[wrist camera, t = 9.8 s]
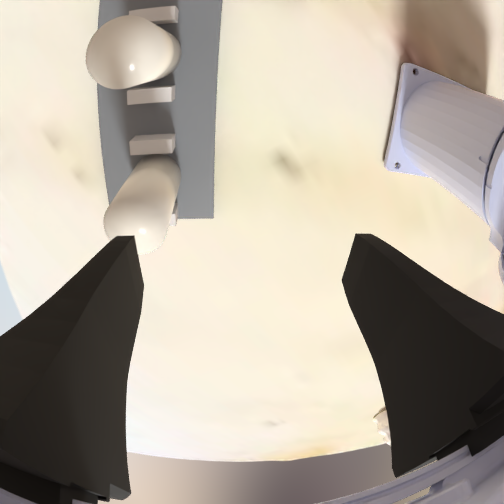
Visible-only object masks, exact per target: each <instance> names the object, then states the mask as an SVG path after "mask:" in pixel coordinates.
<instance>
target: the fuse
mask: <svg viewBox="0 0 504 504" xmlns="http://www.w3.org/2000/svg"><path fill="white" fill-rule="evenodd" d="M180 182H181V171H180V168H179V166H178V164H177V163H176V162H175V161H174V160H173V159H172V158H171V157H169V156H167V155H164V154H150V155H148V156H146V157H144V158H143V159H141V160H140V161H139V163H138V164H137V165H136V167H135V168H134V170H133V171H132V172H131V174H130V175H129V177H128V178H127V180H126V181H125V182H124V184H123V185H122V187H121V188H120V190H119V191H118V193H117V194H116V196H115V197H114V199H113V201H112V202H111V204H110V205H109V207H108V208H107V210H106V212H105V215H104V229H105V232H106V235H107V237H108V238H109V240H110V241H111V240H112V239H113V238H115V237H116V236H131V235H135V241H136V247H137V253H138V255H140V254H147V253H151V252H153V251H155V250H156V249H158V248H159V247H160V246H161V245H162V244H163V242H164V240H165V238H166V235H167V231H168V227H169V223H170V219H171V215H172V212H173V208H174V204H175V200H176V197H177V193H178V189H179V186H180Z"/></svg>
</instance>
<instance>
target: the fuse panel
mask: <svg viewBox="0 0 504 504" xmlns="http://www.w3.org/2000/svg"><path fill="white" fill-rule="evenodd" d="M221 11H222V0H100V5H99V18H98V29H99V28H100V27H101V26H102V25H104V24H105V23H107V22H108V21H110V20H112V19H114V18H117V17H120V16H126V15H134V16H140V17H143V18H145V19H147V20H149V21H150V22H152V23H154V24H156V25H157V26H159V27H161V28H162V29H164V30H166V31H167V32H169V33H170V34H172V35H173V36H175V37H176V38H177V40H178V41H179V43H180V45H181V49H182V55H181V60H180V62H179V64H178V66H177V67H176V69H175V70H174V71H173V72H172V73H171V74H169V75H168V76H166V77H164V78H161V79H158V80H154V81H150V82H146V83H143V84H139V85H136V86H132V87H129V88H125V89H110V88H106V87H103V86H102V85H100V84H98V83H97V93H98V113H99V127H100V138H101V148H102V157H103V166H104V173H105V180H106V187H107V194H108V200H109V205H110V204H111V202H112V201H113V199H114V197H115V196H116V194H117V193H118V191H119V190H120V188H121V187H122V185H123V184H124V182H125V181H126V180H127V178H128V177H129V175H130V174H131V172H132V171H133V170H134V168H135V167H136V165H137V164H138V163H139V161H140V160H141V159H143V158H144V157H146V156H148V155H150V154H164V155H167V156H169V157H171V158H172V159H173V160H174V161H175V162H176V163H177V164H178V166H179V168H180V171H181V182H180V186H179V189H178V193H177V197H176V200H175V204H174V208H173V212H172V215H171V219H170V223H169V226H176V224H177V219H195V218H214V153H215V118H216V93H217V72H218V54H219V38H220V24H221Z"/></svg>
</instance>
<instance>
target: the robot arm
mask: <svg viewBox="0 0 504 504" xmlns="http://www.w3.org/2000/svg"><path fill="white" fill-rule="evenodd" d="M413 69H415V72H416V73H415V74H413ZM397 162H398V165H397V166H396V167H395V164H396V163H397ZM384 167H385V168H386V169H387V170H388V171H392V172H399V173H406V174H412V175H418V176H424V177H430V178H432V179H433V180H435V181H436V182H437V183H439V184H440V185H441V186H443V187H444V188H445V189H446V190H448V191H449V192H450V193H452V194H453V195H454V196H455V197H456V198H458V199H459V200H460V201H461V202H463V203H464V204H465V205H466V206H467V207H469V208H470V209H471V210H472V211H473V212H474V213H476V214H477V215H478V216H479V217H480V218H481V219H482V220H483V221H485V222H486V223H487V224H488V225H489V226H490V238H489V241H490V242H491V243H492V244H493V245H494V246H495V247H496V248H497V249H498V250H499V251H500V252H501V254H500V258H499V274H500V277H501V280H502V282H503V284H504V101H503V100H501V99H498V98H495V97H492V96H489V95H486V94H484V93H480V92H477V91H474V90H472V89H470V88H468V87H466V86H464V85H462V84H460V83H458V82H455V81H453V80H451V79H449V78H447V77H444V76H442V75H440V74H437V73H435V72H432V71H430V70H427V69H425V68H422V67H420V66H417V65H414V64H411V63H403V64H402V66H401V72H400V79H399V86H398V93H397V99H396V105H395V110H394V116H393V121H392V127H391V132H390V136H389V141H388V146H387V151H386V155H385V160H384ZM342 283H343V286H344V290H345V294H346V297H347V300H348V303H349V306H350V308H351V310H352V313H353V315H354V317H355V319H356V321H357V324H358V326H359V328H360V330H361V333H362V335H363V337H364V339H365V342H366V344H367V346H368V348H369V351H370V353H371V355H372V358H373V361H374V363H375V366H376V370H377V373H378V377H379V381H380V384H381V388H382V392H383V397H384V401H385V406H386V411H387V417H388V423H389V430H390V439H391V450H392V469H393V472H394V475H395V477H396V478H397V477H399V476H402V475H404V474H406V473H409V472H411V471H413V470H416V469H418V468H420V467H423V466H425V465H427V464H429V463H431V462H433V461H435V460H438V461H436V462H434V463H433V464H430V465H428V466H426V467H424V468H422V469H419V470H417V471H415V472H413V473H410V474H408V475H406V476H403V477H401V478H398V479H396V480H393V481H390V482H388V483H385V484H382V485H379V486H377V487H374V488H371V489H368V490H365V491H362V492H358V493H355V494H352V495H348V496H345V497H341V498H337V499H334V500H329V501H325V502H321V503H316V504H392V503H394V502H397V501H399V500H401V499H404V498H406V497H408V496H411V495H413V494H415V493H417V492H419V491H421V490H423V489H425V488H427V487H429V486H431V485H432V486H431V487H430V491H429V493H428V494H427V495H424V496H422V497H419V498H417V499H414V500H412V501H409V502H407V503H405V504H504V314H502V313H500V312H498V311H495V310H493V309H491V308H489V307H487V306H485V305H483V304H481V303H479V302H477V301H475V300H474V299H472V298H470V297H468V296H466V295H465V294H463V293H461V292H460V291H458V290H456V289H454V288H453V287H451V286H450V285H448V284H446V283H445V282H443V281H442V280H440V279H439V278H437V277H436V276H434V275H433V274H431V273H430V272H428V271H427V270H425V269H424V268H423V267H421V266H420V265H418V264H417V263H415V262H414V261H413V260H411V259H410V258H408V257H407V256H405V255H404V254H402V253H401V252H400V251H398V250H397V249H395V248H394V247H392V246H391V245H389V244H388V243H386V242H384V241H383V240H381V239H380V238H378V237H376V236H374V235H372V234H355V238H354V241H353V245H352V248H351V251H350V255H349V258H348V261H347V265H346V268H345V271H344V274H343V277H342ZM143 290H144V283H143V278H142V273H141V268H140V263H139V258H138V253H137V247H136V241H135V235H131V236H116V237H115V238H113V239H112V240H111V241H110V242H109V243H108V244H107V245H106V246H105V247H104V248H102V249H101V250H100V251H99V252H98V253H97V254H96V255H95V256H94V257H93V258H92V259H91V260H90V261H89V262H88V263H87V264H86V265H85V266H84V267H83V268H82V269H81V270H80V271H79V272H78V273H77V274H76V275H75V276H73V277H72V278H71V279H70V280H69V281H68V282H67V283H66V284H65V285H64V286H63V287H62V288H61V289H59V290H58V291H57V292H56V293H55V294H54V295H53V296H52V297H51V298H49V299H48V300H47V301H46V302H45V303H44V304H42V305H41V306H40V307H39V308H38V309H36V310H35V311H34V312H33V313H31V314H30V315H29V316H28V317H26V318H25V319H24V320H22V321H21V322H19V323H18V324H17V325H16V326H14V327H13V328H11V329H10V330H8V331H7V332H6V333H4V334H3V335H2V336H0V504H97V503H98V500H101V501H106V502H109V501H110V498H112V499H118V500H124V499H126V498H127V497H128V496H129V495H130V494H131V490H130V482H129V474H128V465H127V451H126V392H127V379H128V372H129V366H130V361H131V356H132V351H133V347H134V342H135V337H136V333H137V328H138V324H139V319H140V315H141V308H142V299H143Z"/></svg>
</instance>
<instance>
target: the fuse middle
mask: <svg viewBox="0 0 504 504" xmlns="http://www.w3.org/2000/svg"><path fill="white" fill-rule="evenodd" d="M181 55H182V49H181V45H180V43H179V41H178V40H177V38H176V37H175V36H173V35H172V34H170V33H169V32H167V31H166V30H164V29H162V28H161V27H159V26H157V25H156V24H154V23H152V22H150V21H149V20H147V19H145V18H143V17H140V16H134V15H126V16H120V17H117V18H114V19H112V20H110V21H108V22H107V23H105V24H104V25H102V26H101V27H100V28H99V29H98V30H97V31H96V33H95V34H94V35H93V37H92V38H91V40H90V42H89V44H88V48H87V52H86V65H87V69H88V71H89V73H90V75H91V77H92V78H93V79H94V80H95V81H96V82H97V83H98V84H100V85H102V86H103V87H106V88H110V89H125V88H129V87H132V86H136V85H139V84H143V83H146V82H150V81H154V80H158V79H161V78H164V77H166V76H168V75H169V74H171V73H172V72H173V71H174V70H175V69H176V67H177V66H178V64H179V62H180V60H181Z"/></svg>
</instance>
